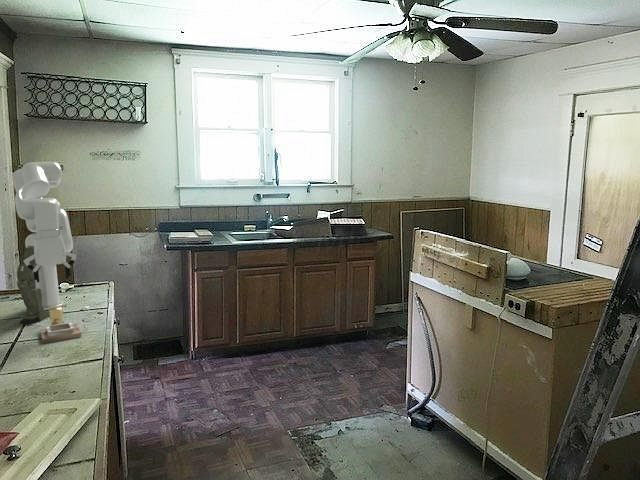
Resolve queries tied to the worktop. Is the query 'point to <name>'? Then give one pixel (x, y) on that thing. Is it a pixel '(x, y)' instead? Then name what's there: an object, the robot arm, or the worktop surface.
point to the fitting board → (60, 332)
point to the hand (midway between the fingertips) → (52, 279)
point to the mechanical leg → (30, 291)
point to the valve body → (56, 315)
